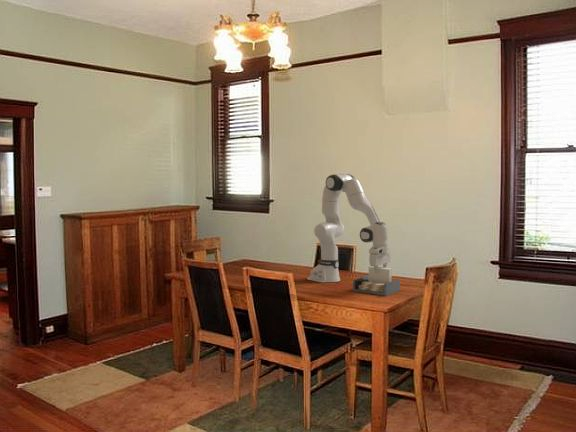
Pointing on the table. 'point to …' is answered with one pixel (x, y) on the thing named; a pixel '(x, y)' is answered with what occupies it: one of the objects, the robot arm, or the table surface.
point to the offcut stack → (372, 286)
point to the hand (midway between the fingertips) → (380, 271)
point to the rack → (388, 289)
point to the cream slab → (379, 275)
